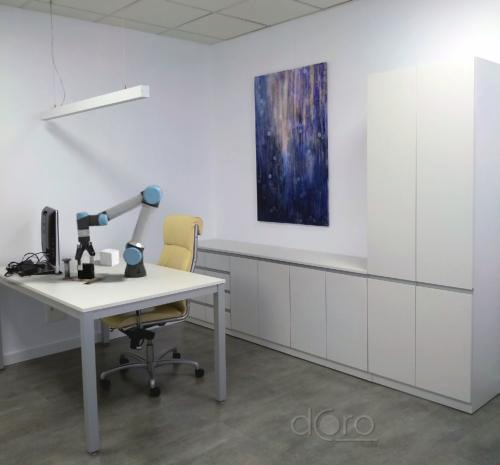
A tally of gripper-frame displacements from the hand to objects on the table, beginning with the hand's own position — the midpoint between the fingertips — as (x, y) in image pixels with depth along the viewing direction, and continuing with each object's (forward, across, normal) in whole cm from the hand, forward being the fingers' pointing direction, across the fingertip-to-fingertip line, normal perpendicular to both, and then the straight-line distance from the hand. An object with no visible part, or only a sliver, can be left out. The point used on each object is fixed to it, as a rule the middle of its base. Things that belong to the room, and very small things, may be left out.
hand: (86, 267), depth 354 cm
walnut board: (+9, 0, -6) cm, 11 cm away
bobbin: (+7, 0, -15) cm, 16 cm away
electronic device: (+7, 0, 0) cm, 7 cm away
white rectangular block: (+10, -65, -22) cm, 69 cm away
